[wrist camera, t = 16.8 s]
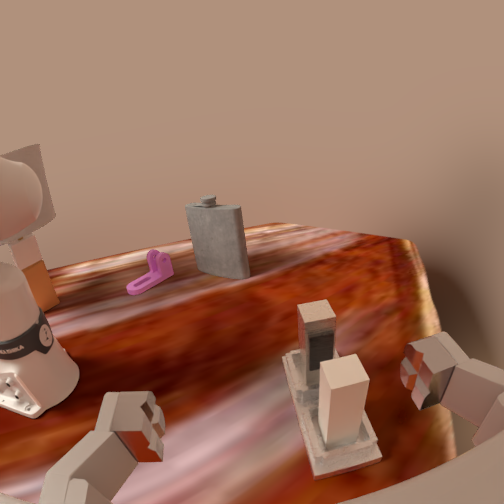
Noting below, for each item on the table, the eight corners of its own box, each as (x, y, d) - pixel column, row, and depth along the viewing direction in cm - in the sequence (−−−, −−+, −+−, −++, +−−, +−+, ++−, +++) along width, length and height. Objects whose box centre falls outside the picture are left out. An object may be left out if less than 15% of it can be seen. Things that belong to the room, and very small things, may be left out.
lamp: (65, 278, 89) (28, 150, 72) (95, 298, 76) (50, 138, 59) (7, 311, 73) (-40, 176, 56) (24, 341, 60) (-39, 171, 42)
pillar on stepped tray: (314, 480, 30) (318, 422, 24) (282, 363, 50) (275, 293, 44) (380, 461, 31) (404, 397, 25) (331, 352, 51) (333, 283, 45)
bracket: (162, 270, 87) (156, 247, 84) (174, 274, 84) (168, 250, 81) (124, 291, 78) (116, 267, 75) (135, 297, 75) (127, 272, 72)
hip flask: (252, 274, 79) (242, 194, 71) (243, 282, 76) (231, 199, 68) (202, 264, 87) (189, 193, 79) (193, 271, 84) (178, 197, 76)
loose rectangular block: (325, 449, 33) (331, 389, 28) (316, 421, 37) (318, 358, 32) (356, 440, 33) (369, 379, 28) (345, 414, 37) (354, 350, 32)
